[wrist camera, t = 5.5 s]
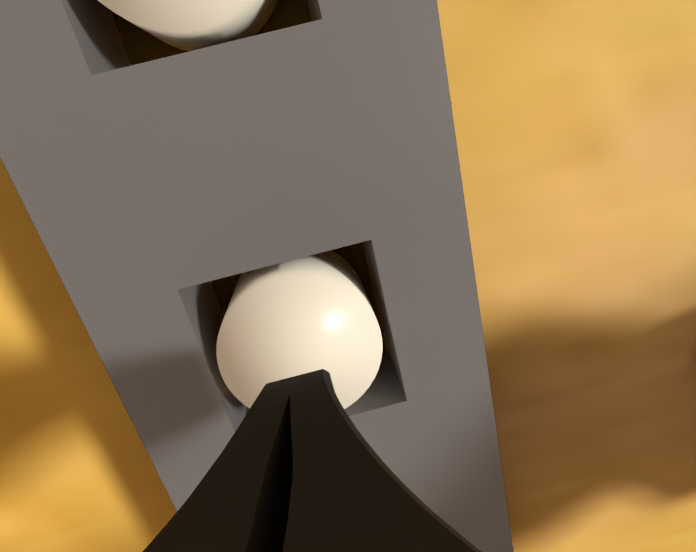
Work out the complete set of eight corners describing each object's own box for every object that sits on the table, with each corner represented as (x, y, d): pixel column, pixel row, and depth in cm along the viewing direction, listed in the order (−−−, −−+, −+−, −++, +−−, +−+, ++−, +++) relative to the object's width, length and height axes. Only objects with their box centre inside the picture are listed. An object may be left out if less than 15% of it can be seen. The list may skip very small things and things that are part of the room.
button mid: (349, 228, 14) (363, 256, 11) (378, 348, 15) (396, 399, 13) (213, 263, 14) (191, 300, 11) (255, 380, 15) (245, 439, 12)
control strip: (345, -328, 10) (365, -509, 7) (492, 562, 20) (525, 635, 17) (-100, -228, 10) (-265, -375, 7) (277, 622, 20) (274, 706, 17)
